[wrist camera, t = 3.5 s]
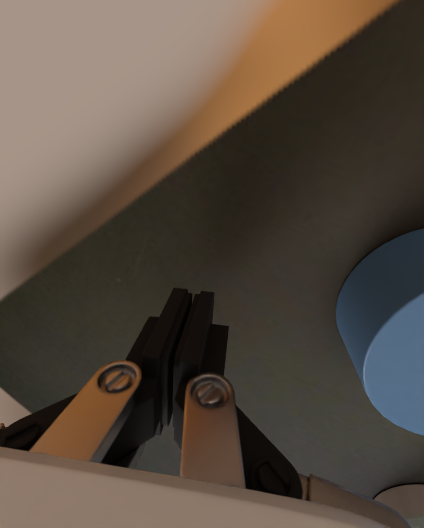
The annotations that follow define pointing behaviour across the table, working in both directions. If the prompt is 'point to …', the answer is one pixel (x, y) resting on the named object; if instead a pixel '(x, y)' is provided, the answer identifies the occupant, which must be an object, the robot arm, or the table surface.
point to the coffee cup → (406, 502)
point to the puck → (388, 328)
